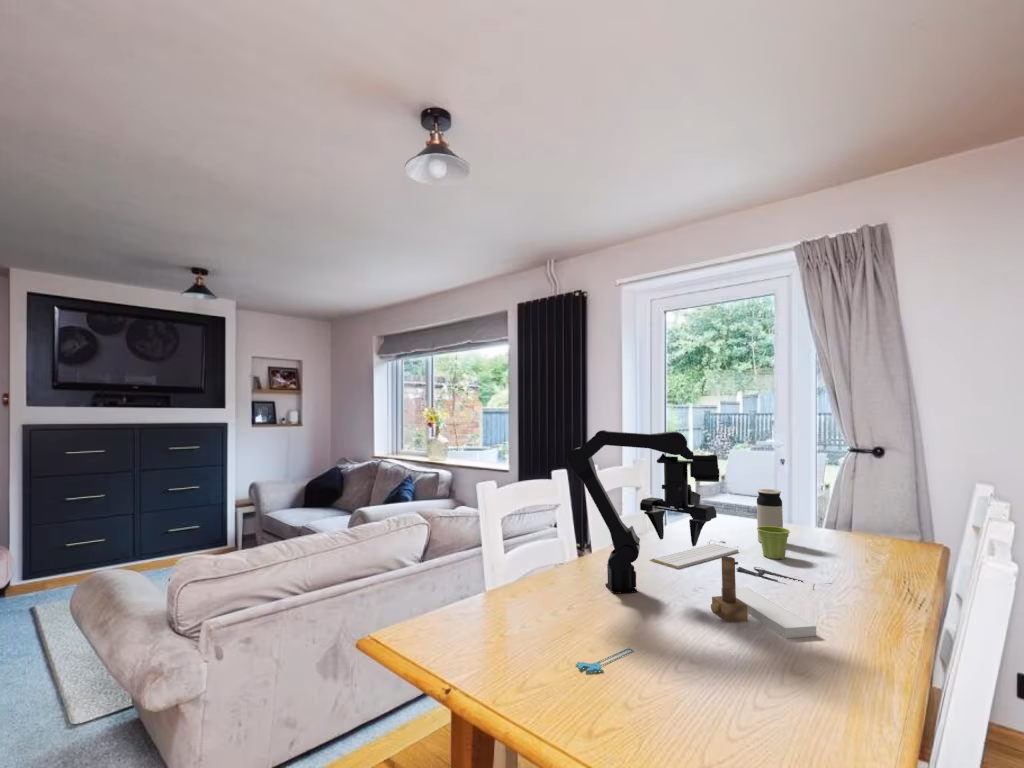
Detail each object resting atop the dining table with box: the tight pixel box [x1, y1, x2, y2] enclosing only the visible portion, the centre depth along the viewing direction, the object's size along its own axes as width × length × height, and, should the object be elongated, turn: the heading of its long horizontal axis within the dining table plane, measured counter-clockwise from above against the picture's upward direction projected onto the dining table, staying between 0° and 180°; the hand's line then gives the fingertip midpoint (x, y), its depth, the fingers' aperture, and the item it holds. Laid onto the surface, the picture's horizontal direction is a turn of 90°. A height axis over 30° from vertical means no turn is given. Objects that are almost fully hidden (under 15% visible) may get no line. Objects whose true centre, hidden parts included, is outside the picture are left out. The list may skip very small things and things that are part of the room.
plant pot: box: [756, 526, 791, 560], centre depth 163 cm, size 9×9×9 cm
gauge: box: [710, 556, 749, 624], centre depth 117 cm, size 7×6×13 cm
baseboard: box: [649, 539, 739, 570], centre depth 165 cm, size 31×3×12 cm
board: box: [720, 586, 817, 639], centre depth 118 cm, size 7×24×2 cm, turn 8°
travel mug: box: [756, 488, 784, 543], centre depth 181 cm, size 8×8×18 cm
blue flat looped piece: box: [575, 647, 635, 674], centre depth 97 cm, size 14×1×5 cm
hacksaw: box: [735, 566, 804, 583], centre depth 143 cm, size 24×10×2 cm, turn 36°
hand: (677, 542), depth 132 cm, fingers open, 9 cm apart
